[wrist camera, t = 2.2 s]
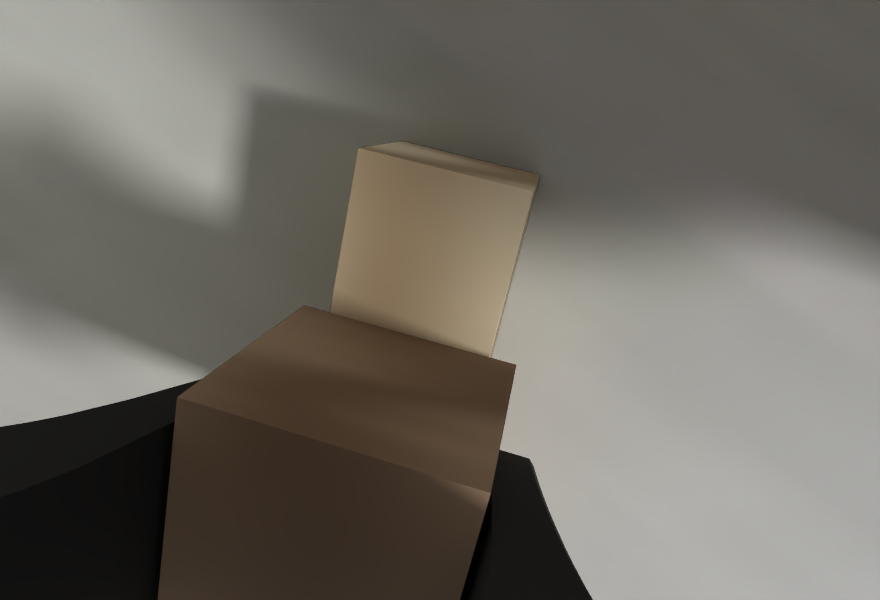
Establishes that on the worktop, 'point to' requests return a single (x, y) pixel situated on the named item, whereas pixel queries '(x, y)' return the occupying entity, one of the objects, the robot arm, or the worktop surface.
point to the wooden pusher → (360, 404)
